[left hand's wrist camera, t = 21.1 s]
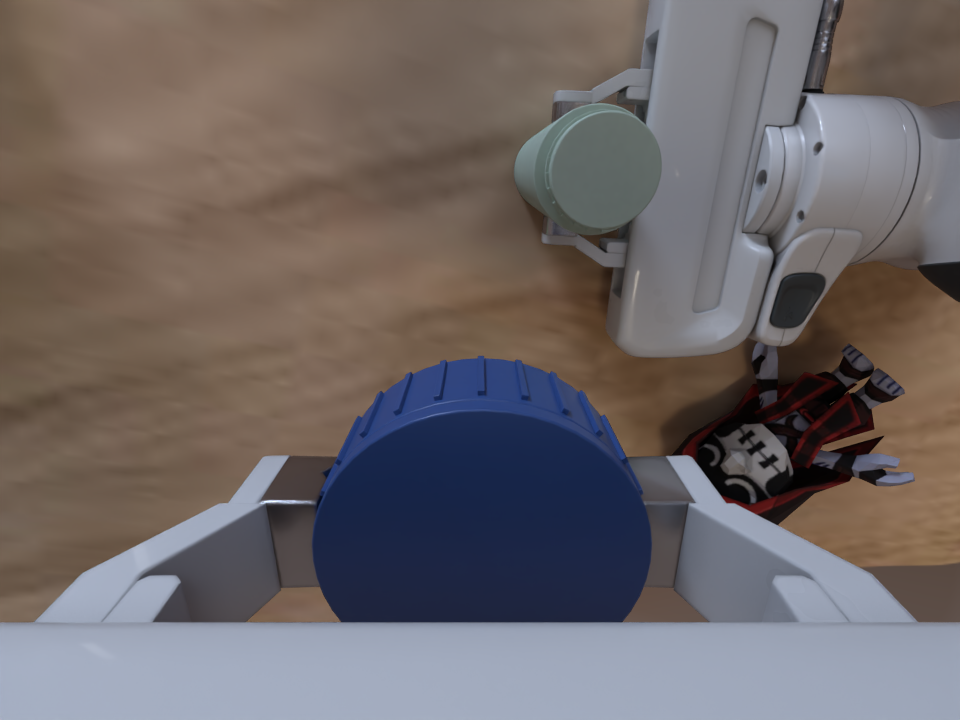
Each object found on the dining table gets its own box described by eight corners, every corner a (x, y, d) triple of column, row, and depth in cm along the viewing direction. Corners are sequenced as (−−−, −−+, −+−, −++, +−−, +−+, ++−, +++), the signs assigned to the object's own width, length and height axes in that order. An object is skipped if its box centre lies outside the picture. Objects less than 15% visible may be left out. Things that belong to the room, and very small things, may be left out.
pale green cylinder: (509, 137, 33) (530, 108, 18) (585, 124, 32) (673, 85, 17) (518, 215, 34) (545, 250, 19) (591, 204, 34) (675, 230, 19)
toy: (978, 440, 26) (730, 593, 31) (957, 455, 33) (759, 577, 38) (793, 289, 32) (614, 435, 37) (810, 329, 39) (658, 447, 44)
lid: (626, 580, 11) (658, 670, 9) (371, 604, 11) (348, 698, 9) (618, 336, 9) (657, 384, 7) (309, 373, 9) (264, 429, 7)
